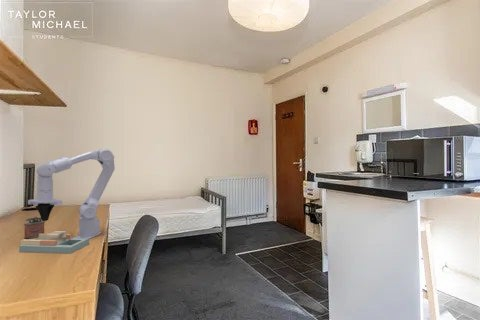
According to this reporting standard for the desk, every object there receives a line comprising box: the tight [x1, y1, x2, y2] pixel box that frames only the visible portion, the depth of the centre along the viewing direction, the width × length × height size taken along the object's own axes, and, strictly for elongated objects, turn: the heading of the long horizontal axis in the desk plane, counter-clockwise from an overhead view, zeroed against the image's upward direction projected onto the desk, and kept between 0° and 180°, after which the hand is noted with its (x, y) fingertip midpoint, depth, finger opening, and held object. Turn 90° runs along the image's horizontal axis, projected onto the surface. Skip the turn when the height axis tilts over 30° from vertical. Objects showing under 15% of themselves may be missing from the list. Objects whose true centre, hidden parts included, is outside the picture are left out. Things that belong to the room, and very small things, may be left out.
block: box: [45, 230, 67, 244], centre depth 114 cm, size 5×5×4 cm
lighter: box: [23, 216, 46, 240], centre depth 129 cm, size 8×3×10 cm, turn 141°
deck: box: [18, 232, 90, 254], centre depth 114 cm, size 12×22×4 cm, turn 86°
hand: (45, 220), depth 120 cm, fingers closed
